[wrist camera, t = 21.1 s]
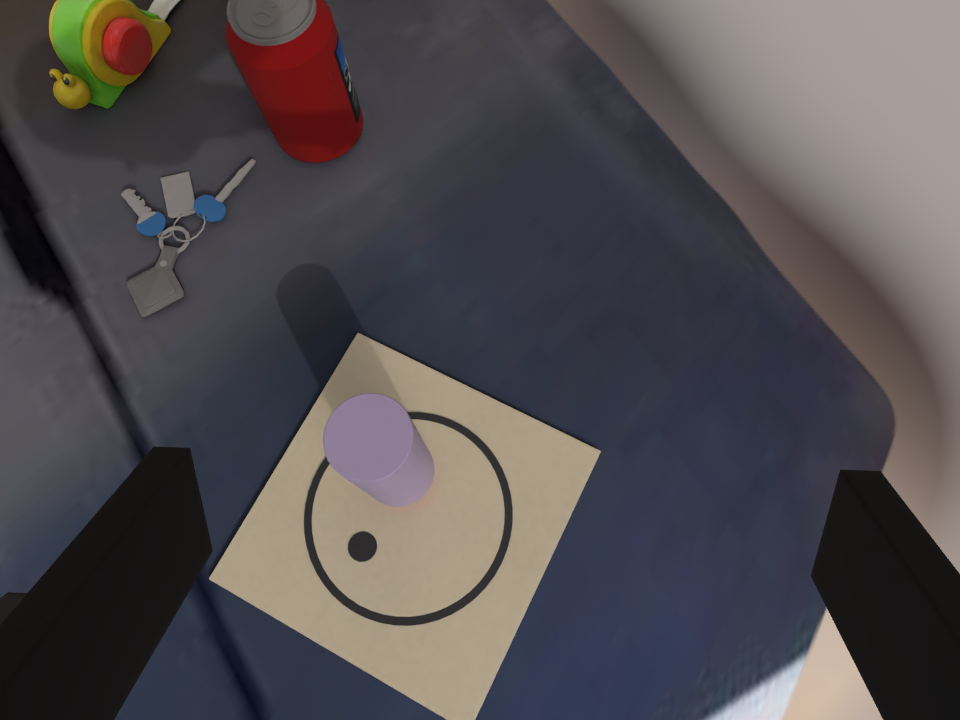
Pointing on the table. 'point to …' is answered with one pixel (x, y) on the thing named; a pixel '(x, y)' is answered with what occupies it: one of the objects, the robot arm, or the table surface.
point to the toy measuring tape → (103, 47)
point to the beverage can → (296, 74)
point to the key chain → (160, 281)
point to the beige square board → (412, 535)
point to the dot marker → (379, 449)
